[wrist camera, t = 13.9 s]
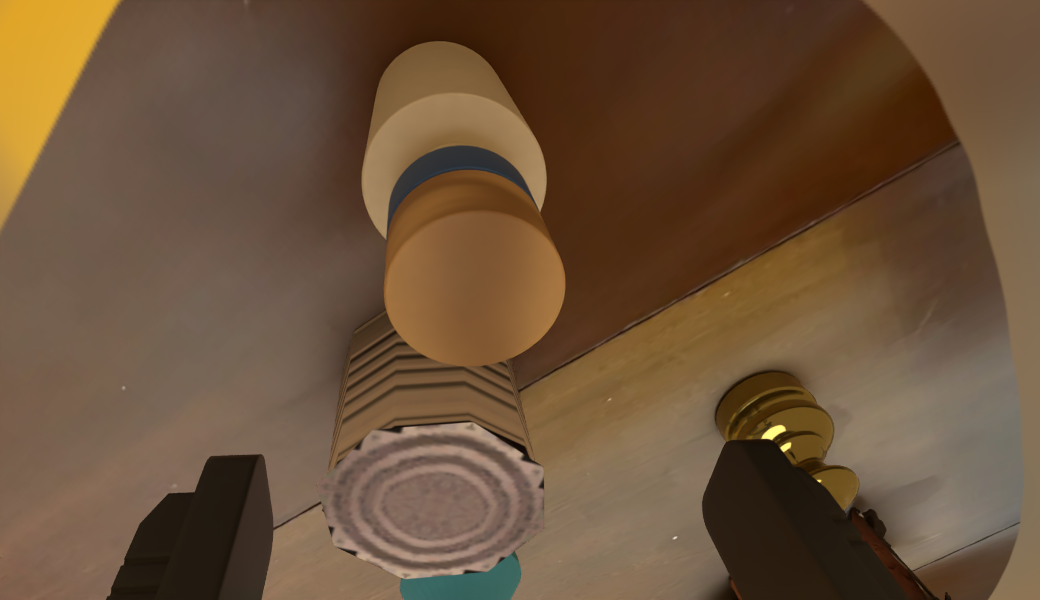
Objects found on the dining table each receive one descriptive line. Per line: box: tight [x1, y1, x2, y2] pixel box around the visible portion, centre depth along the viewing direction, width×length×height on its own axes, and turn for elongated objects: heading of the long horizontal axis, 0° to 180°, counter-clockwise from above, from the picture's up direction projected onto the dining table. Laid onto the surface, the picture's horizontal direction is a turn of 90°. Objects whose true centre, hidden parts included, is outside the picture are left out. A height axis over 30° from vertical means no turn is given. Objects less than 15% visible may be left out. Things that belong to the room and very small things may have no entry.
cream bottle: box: [361, 41, 547, 242], centre depth 24 cm, size 7×7×16 cm
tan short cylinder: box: [384, 170, 565, 367], centre depth 17 cm, size 5×5×3 cm
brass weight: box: [716, 372, 859, 511], centre depth 43 cm, size 7×7×10 cm
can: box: [316, 310, 544, 579], centre depth 35 cm, size 11×11×12 cm
